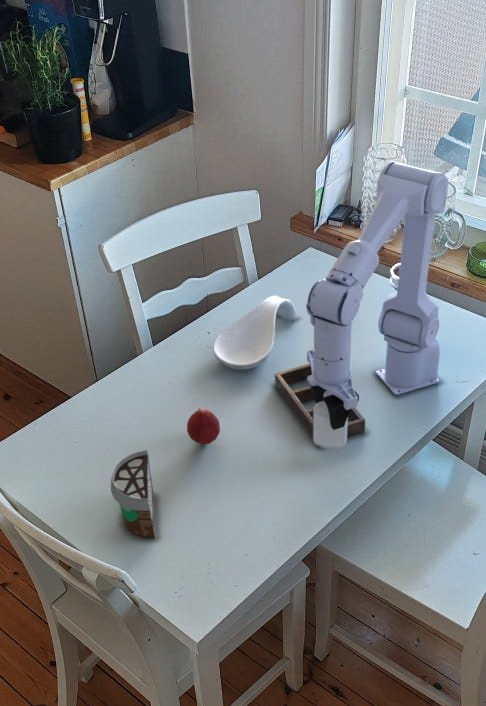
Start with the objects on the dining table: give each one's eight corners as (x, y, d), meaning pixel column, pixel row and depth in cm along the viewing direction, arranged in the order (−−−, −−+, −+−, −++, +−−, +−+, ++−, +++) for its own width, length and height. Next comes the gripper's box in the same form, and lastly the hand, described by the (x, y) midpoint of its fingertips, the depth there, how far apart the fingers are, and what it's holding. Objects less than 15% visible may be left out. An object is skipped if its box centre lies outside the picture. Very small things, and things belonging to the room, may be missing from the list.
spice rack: (317, 373, 179) (318, 361, 177) (364, 432, 166) (365, 420, 163) (274, 386, 177) (274, 373, 175) (318, 447, 163) (319, 434, 161)
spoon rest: (254, 385, 177) (253, 354, 172) (202, 368, 182) (200, 338, 177) (311, 322, 192) (311, 292, 187) (261, 308, 197) (260, 279, 192)
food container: (118, 495, 157) (109, 451, 150) (154, 491, 157) (147, 447, 150) (116, 548, 148) (107, 505, 141) (155, 545, 148) (147, 501, 141)
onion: (225, 435, 167) (222, 401, 161) (214, 456, 163) (211, 421, 157) (195, 430, 168) (192, 395, 163) (184, 450, 164) (179, 415, 159)
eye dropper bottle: (333, 456, 155) (334, 401, 147) (309, 441, 158) (309, 386, 150) (350, 444, 157) (353, 388, 149) (326, 429, 160) (327, 374, 152)
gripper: (289, 333, 149) (290, 399, 158) (329, 383, 139) (328, 450, 148) (329, 322, 150) (327, 388, 160) (371, 371, 140) (367, 438, 150)
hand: (330, 417), depth 154 cm, fingers closed on eye dropper bottle, 5 cm apart
